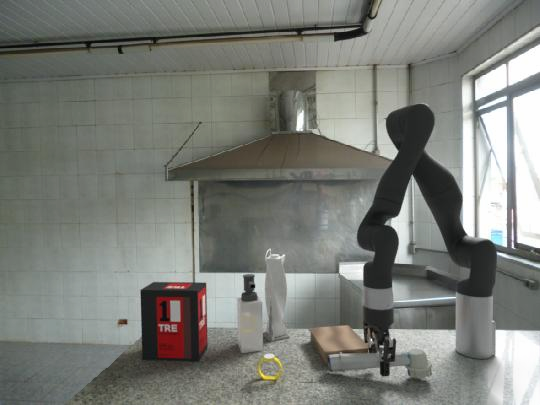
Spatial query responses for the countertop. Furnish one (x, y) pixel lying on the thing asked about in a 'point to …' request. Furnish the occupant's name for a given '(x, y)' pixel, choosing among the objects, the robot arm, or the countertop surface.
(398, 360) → the white handheld device
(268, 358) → the watch
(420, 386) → the countertop surface
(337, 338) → the stand
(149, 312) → the cleaning product box
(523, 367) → the countertop surface
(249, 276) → the soap dispenser
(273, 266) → the skyscraper
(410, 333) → the countertop surface
